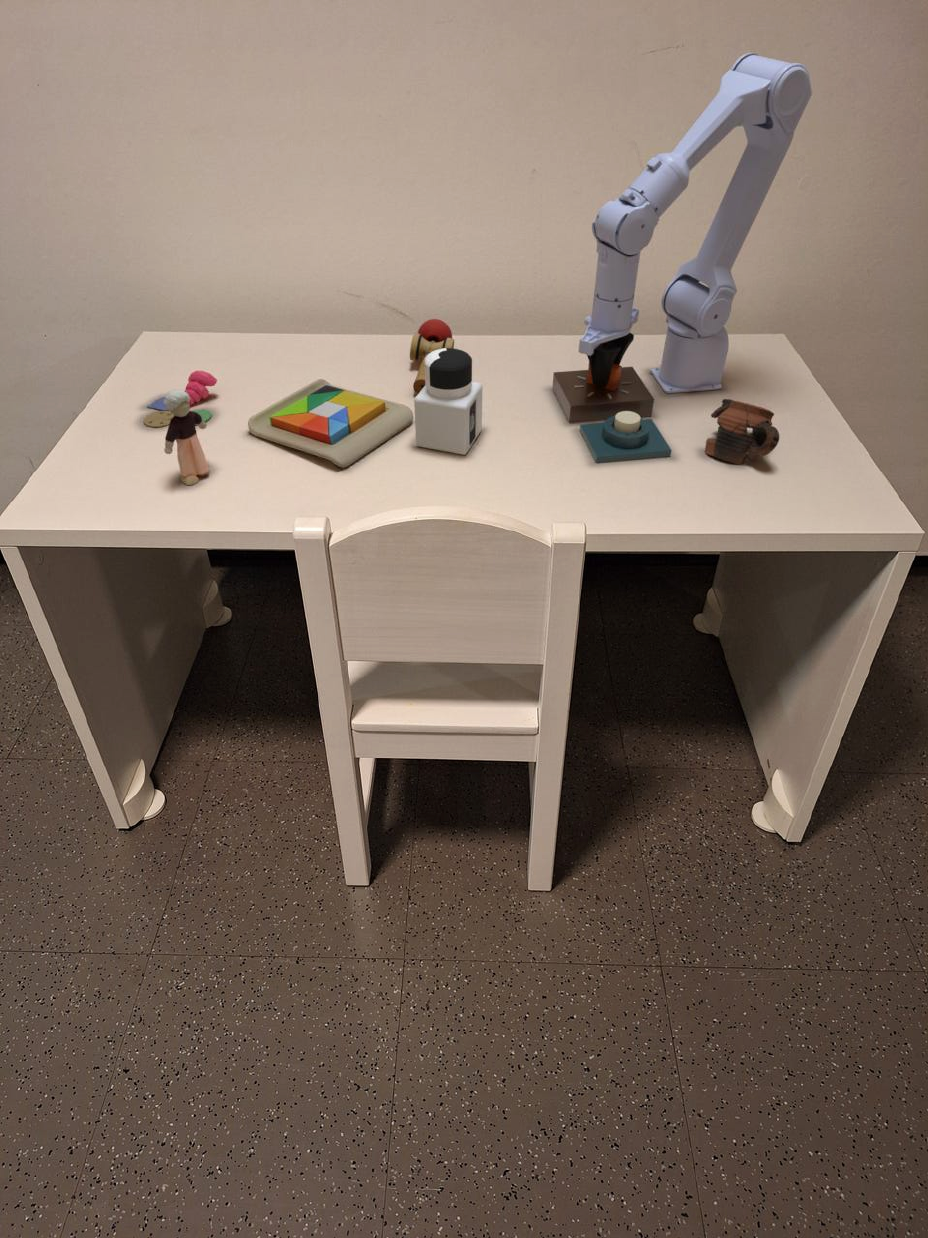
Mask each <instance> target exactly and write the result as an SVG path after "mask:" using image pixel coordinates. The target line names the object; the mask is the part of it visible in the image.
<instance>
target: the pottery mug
mask: <svg viewBox="0 0 928 1238" xmlns="http://www.w3.org/2000/svg"><path fill="white" fill-rule="evenodd" d="M721 403H722V404H721V406H720V407H718V408H716V409H715V410H713V412H711V414H710V416H711V418H712V419H717V420H716V423H717V425H718V428H717V434H716V438H712V437H708V438H707V439H706V441H705V446H704V447H705V448H704V454H706V455H709V456H712V457H715V458H717V459H720V461H721V460H722V461H724V462H728V463H731V464H735V465H738V466H740V465H741V464H742V463H743V460H744V459H745V457H746V455H748V457H749V459H750V460H751V461H752V460H756V459H759V458H760V457H764V456H766V455H769V454H770V453H771V452H772V451H773V450H775V449H776V447H777V446H778V444H779V441H780V433H779V430H778V429H777V427H775V426H773V422H772V420H773V417H774V416H775V413H774V412H773V411H771V410H769V409H767V408H764V407H762V406H759V405H754V404H751V403H748V402H743V401H739V400H734V399H730V398H723V399H722V400H721ZM748 429H752V430H751V433H749V434H748Z"/></svg>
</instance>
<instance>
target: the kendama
mask: <svg viewBox="0 0 928 1238" xmlns="http://www.w3.org/2000/svg"><path fill="white" fill-rule="evenodd" d="M454 347H455V339H454V338H453V332H452V330H451V328H450V326H449V325H448V324H447V323H446V322H445V321H443V320H442V319H437V318H431V319H428V320H426V321H424V322H423V323H422V324H421V325H420V326H419V328H418V330H417V333H413V335H412V338H411V343H410V348H409V360H410V361H411V362H412V361H413V362H416V361H418V360H421V359H422V361H421V363H420V365H419V369H418V371H417V375H416V377H415V379H414V382H413V384H412V385H413V386H412V388H413V391H414V392H415V393H416V394H417V395H418V394H419V393H420V391H421V390H422V389H423V388H424V386H425V358H426V357H427V355H428V354H429V353H431V352H433V351H435V350H438V349H443V348H454ZM454 349H455V348H454Z"/></svg>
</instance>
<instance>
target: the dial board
mask: <svg viewBox="0 0 928 1238" xmlns="http://www.w3.org/2000/svg"><path fill="white" fill-rule="evenodd" d="M552 374H553V376H552V387H551V390H552V391H553V393H554V395H555V397H556V400H557V402H558V404H559V406H560V408H561V410H562V412H563V414H564V416H565V418H566V420H567V422H568V423H569V424H574V423H586V422H587V423H588V422H600V421H605V420H606V419H608V418H610V417H612V416H615V415H616V414H617V413H619V412H622V411H631V412H634V413H637V414H638V415H639V416H640V417H641V418H648V417H649V418H651V417H652V414H653V410H654V409H653V408H654V403H655V398H654V397H653V395H652V394H651V392H650V391H649V389H648V388H647V386H646V384H645V383H644V382H643V380H642V379H641V377H640V375H639V374H638V373H637V371H636V370H635V368H634V367H633V366H622V369H621V376H620V383H619V388H617V389H616V390H615V391H612V390H609V389H606V388H602V387H599V386H596V385H593V384H590V383H587V376H588V369H580V370H579V369H578V370H565V371H553V373H552Z"/></svg>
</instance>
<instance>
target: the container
mask: <svg viewBox="0 0 928 1238" xmlns="http://www.w3.org/2000/svg"><path fill="white" fill-rule="evenodd" d="M413 402H414V404H413V405H414V406H413V407H414V424H415V425H414V427H415V442H416V443H415V444H416V446H417V447H419V448H423V449H428V450H429V449H430V450H434V451H441V452H446V453H450V454H456V455H462V456H465V455H466V454H467V453H468V451H469V450H470V449H471V447H472V445H473V444H474V443H475V442H476V440H477V438H478V436H479V434H480V433H481V432H482V430H483V384H482V382H477V381H473V358H472V356H471V355H470V354H469V353H468V352H466V351H464V350H462V349H459V348H443V349H438V350H435V351H433V352H431V353H429V354H428V355H427V357H426V358H425V386H424V388H423V389H422V390H421V391H420V393H419V394H417V395H416V396H415V397H414V400H413Z"/></svg>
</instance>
